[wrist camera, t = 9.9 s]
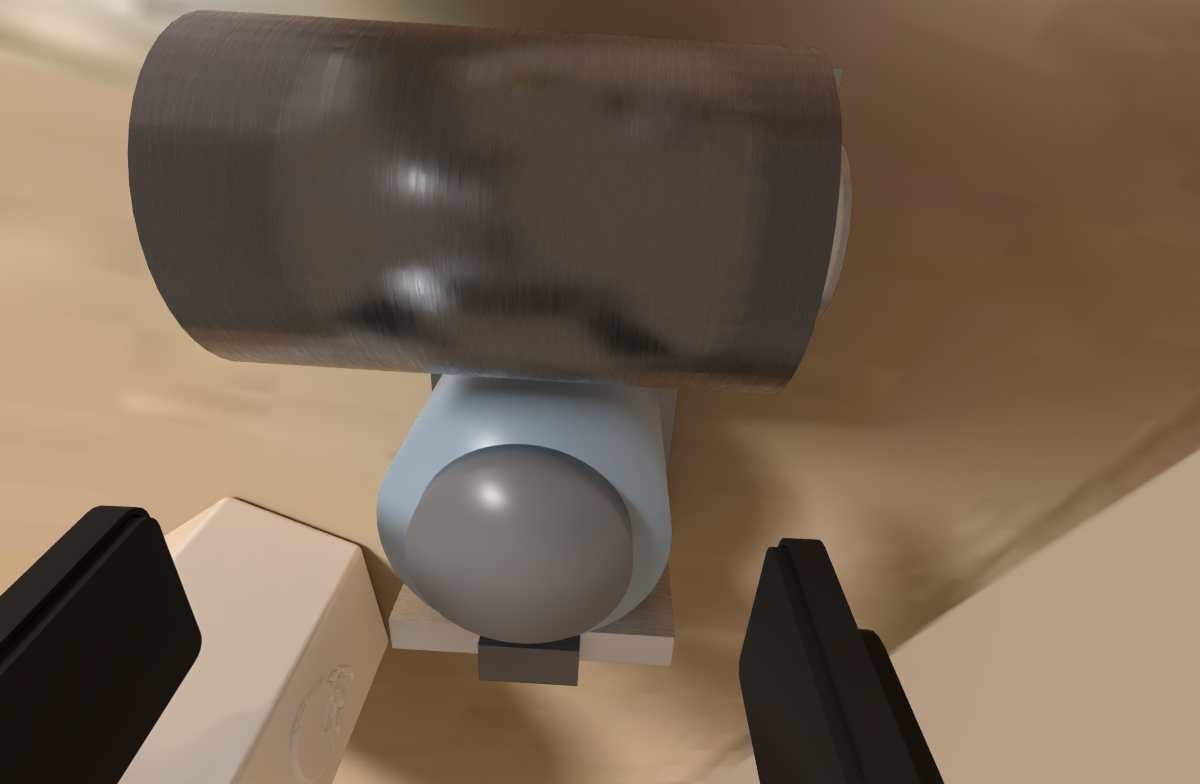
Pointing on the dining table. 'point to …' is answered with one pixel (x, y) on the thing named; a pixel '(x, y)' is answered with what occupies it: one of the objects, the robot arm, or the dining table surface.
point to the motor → (494, 222)
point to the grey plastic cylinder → (529, 505)
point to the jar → (265, 653)
